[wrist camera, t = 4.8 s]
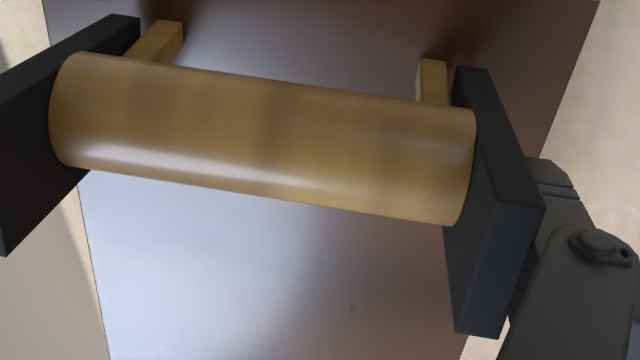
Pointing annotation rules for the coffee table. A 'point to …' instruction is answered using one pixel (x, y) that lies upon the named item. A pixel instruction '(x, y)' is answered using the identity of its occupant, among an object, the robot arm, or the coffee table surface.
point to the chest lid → (291, 165)
